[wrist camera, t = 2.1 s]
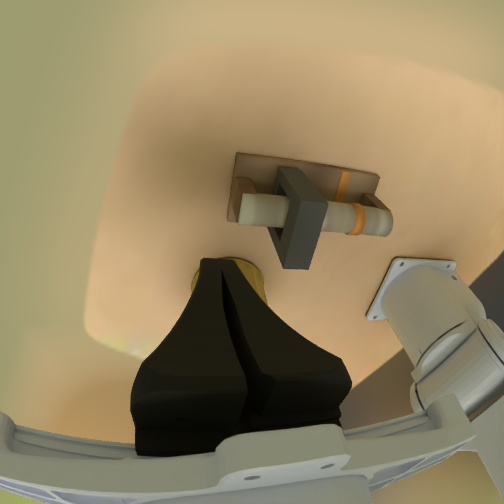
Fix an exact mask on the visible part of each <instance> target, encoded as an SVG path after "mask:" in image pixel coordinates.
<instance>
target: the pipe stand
mask: <svg viewBox="0 0 504 504" xmlns="http://www.w3.org/2000/svg"><path fill="white" fill-rule="evenodd" d="M279 167H283V168H290V169H298V170H302V171H303V173H304V174H305V175H306V176H307V177H308V179H309V180H310V181H311V182H312V183H313V185H314V186H315V187H316V188H317V190H318V191H319V192H320V193H321V195H322V196H323V197H324V198H325V200H326V201H327V202H328V203H329V205H328V209H327V212H326V215H325V219H324V222H323V225H322V229H321V231H328V232H340V233H345V234H347V235H359V234H362V235H373V236H383V237H386V236H388V235H389V234H390V232H391V230H392V227H393V216H392V213H391V211H390V210H389V209H388V208H387V207H386V206H385V205H384V204H383V203H382V202H381V201H380V200H379V199H378V198H377V197H376V196H375V195H374V194H375V191H376V188H377V185H378V182H379V179H380V177H379V176H378V175H377V174H374V173H368V172H363V171H358V170H353V169H347V168H342V167H336V166H330V165H324V164H318V163H312V162H306V161H299V160H292V159H285V158H278V157H270V156H262V155H253V154H245V153H237V155H236V161H235V167H234V173H233V180H232V186H231V193H230V199H229V206H228V213H227V222H237V223H238V224H239V225H251V226H265V227H279V228H284V225H285V221H286V216H287V212H288V208H289V204H290V200H289V198H288V197H287V196H279V195H273V191H274V187H275V182H276V177H277V173H278V168H279Z"/></svg>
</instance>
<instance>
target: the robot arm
mask: <svg viewBox="0 0 504 504" xmlns="http://www.w3.org/2000/svg"><path fill="white" fill-rule="evenodd" d="M400 263H401V264H400ZM456 266H457V263H456V262H455V261H445V260H428V259H411V258H396V259H394V260H393V262H392V264H391V266H390V268H389V270H388V272H387V275H386V277H385V279H384V281H383V283H382V285H381V287H380V289H379V291H378V293H377V295H376V297H375V299H374V301H373V303H372V305H371V307H370V309H369V311H368V313H367V315H366V318H367V320H386V319H387V320H388V321H389V323H390V325H391V327H392V328H393V330H394V332H395V333H396V335H397V337H398V338H399V340H400V342H401V344H402V345H403V347H404V349H405V351H406V352H407V354H408V356H409V358H410V359H411V361H412V363H413V365H414V367H415V370H414V371H413V372H412V373H411V375H412V376H413V379H414V380H415V382H414V383H413V384H412V386H411V389H410V400H411V405H412V408H413V410H414V412H415V413H414V414H410V415H407V416H403V417H400V418H396V419H392V420H389V421H385V422H381V423H377V424H373V425H368V426H364V427H360V428H355V429H350V430H345V431H343V429H342V426H341V424H340V421H339V418H340V417H341V412H340V409H339V405H340V404H341V403H342V401H343V400H344V399H345V397H346V396H347V395H348V393H349V391H350V389H351V387H352V381H351V378H350V376H349V373H348V371H347V369H346V367H345V365H344V363H343V361H342V359H341V358H339V357H337V356H335V355H333V354H331V353H329V352H327V351H325V350H324V349H322V348H320V347H318V346H317V345H315V344H313V343H312V342H310V341H309V340H307V339H306V338H304V337H303V336H301V335H300V334H299V333H297V332H296V331H295V330H294V329H292V328H291V327H290V326H288V325H287V324H286V323H285V322H284V321H283V320H282V319H280V318H279V317H278V316H277V315H276V314H275V313H274V312H273V311H272V310H271V309H270V308H269V307H268V306H267V304H266V303H265V302H264V301H263V300H262V299H261V297H260V296H259V295H258V294H257V292H256V291H255V290H254V289H253V287H252V286H251V285H250V283H249V282H248V280H247V279H246V278H245V276H244V275H243V273H242V272H241V270H240V268H239V267H238V265H237V264H236V262H235V261H234V260H233V259H214V258H203V259H201V260H200V270H199V276H198V279H197V282H196V285H195V288H194V290H193V293H192V295H191V297H190V299H189V301H188V303H187V305H186V307H185V309H184V311H183V313H182V314H181V316H180V318H179V319H178V321H177V322H176V324H175V325H174V327H173V328H172V330H171V331H170V332H169V334H168V335H167V336H166V337H165V339H164V340H163V341H162V342H161V344H160V345H159V346H158V347H157V348H156V349H155V350H154V351H153V352H152V353H151V354H150V355H149V356H148V357H147V358H146V359H145V360H144V361H143V362H142V364H141V366H140V368H139V371H138V373H137V375H136V378H135V381H134V383H133V387H132V392H131V402H130V403H131V404H130V411H131V414H132V418H133V421H134V425H135V444H130V443H119V442H109V441H101V440H93V439H86V438H79V437H72V436H67V435H61V434H56V433H51V432H45V431H41V430H36V429H32V428H28V427H24V426H20V425H15V424H14V422H13V420H12V419H11V418H10V417H9V416H8V415H6V414H5V413H2V412H0V488H1V489H4V490H6V491H9V492H12V493H15V494H18V495H22V496H24V497H28V498H31V499H34V500H38V501H41V502H44V503H47V504H374V502H373V499H372V497H371V493H370V492H372V491H375V490H377V489H380V488H383V487H385V486H388V485H390V484H393V483H395V482H398V481H400V480H402V479H404V478H407V477H409V476H411V475H414V474H416V473H418V472H420V471H422V470H425V469H427V468H429V467H431V466H433V465H436V464H438V463H439V462H442V461H444V460H445V459H447V458H448V457H449V456H451V455H452V454H453V453H455V452H456V451H458V450H459V451H475V452H477V453H478V455H479V456H480V458H481V460H482V462H483V463H484V465H485V467H486V469H487V471H488V473H489V475H490V476H491V478H492V480H493V482H494V484H495V486H496V488H497V489H498V492H499V493H500V495H501V497H502V499H503V501H504V394H503V395H502V396H500V397H499V398H498V399H497V400H496V401H494V402H493V403H492V404H491V405H490V406H488V407H487V408H486V409H485V410H484V411H482V412H481V413H480V414H479V415H477V416H476V417H475V418H474V419H472V420H470V421H469V420H468V418H467V417H468V416H470V415H471V414H472V413H474V412H475V411H476V410H477V409H479V408H480V407H481V406H482V405H483V404H485V403H486V402H487V401H488V400H489V399H490V398H492V397H493V396H494V395H495V394H496V393H497V392H499V390H501V389H502V388H503V387H504V333H503V332H502V331H501V330H500V328H499V327H498V326H497V325H496V324H495V323H494V322H493V321H492V320H490V319H486V315H485V310H484V307H483V305H482V304H481V302H480V301H479V300H478V298H477V297H476V296H475V295H474V294H473V292H472V291H471V290H470V289H469V288H468V286H467V285H466V284H465V283H464V282H463V281H462V280H461V278H460V277H459V276H458V275H457V274H456V273H455V272H454V270H455V268H456Z"/></svg>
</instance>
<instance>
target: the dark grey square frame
mask: <svg viewBox="0 0 504 504" xmlns="http://www.w3.org/2000/svg"><path fill="white" fill-rule="evenodd" d="M273 195H279V196H287V197H288V198H289V200H290V204H289V208H288V212H287V216H286V221H285V225H284V228H279V227H267V228H268V230H269V233H270V236H271V238H272V241H273V243H274V246H275V248H276V251H277V254H278V256H279V259H280V261H281V264H282V267H283V269H303V270H309V266H310V263H311V260H312V257H313V254H314V251H315V248H316V245H317V241H318V238H319V235H320V232H321V229H322V225H323V222H324V219H325V215H326V212H327V209H328V205H329V203H328V202H327V201H326V200H325V198H324V197H323V196H322V195H321V193H320V192H319V191H318V190H317V188H316V187H315V186H314V185H313V183H312V182H311V181H310V180H309V179H308V177H307V176H306V175H305V174H304V173H303V171H302V170H298V169H290V168H283V167H279V168H278V173H277V177H276V182H275V187H274V191H273Z"/></svg>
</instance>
